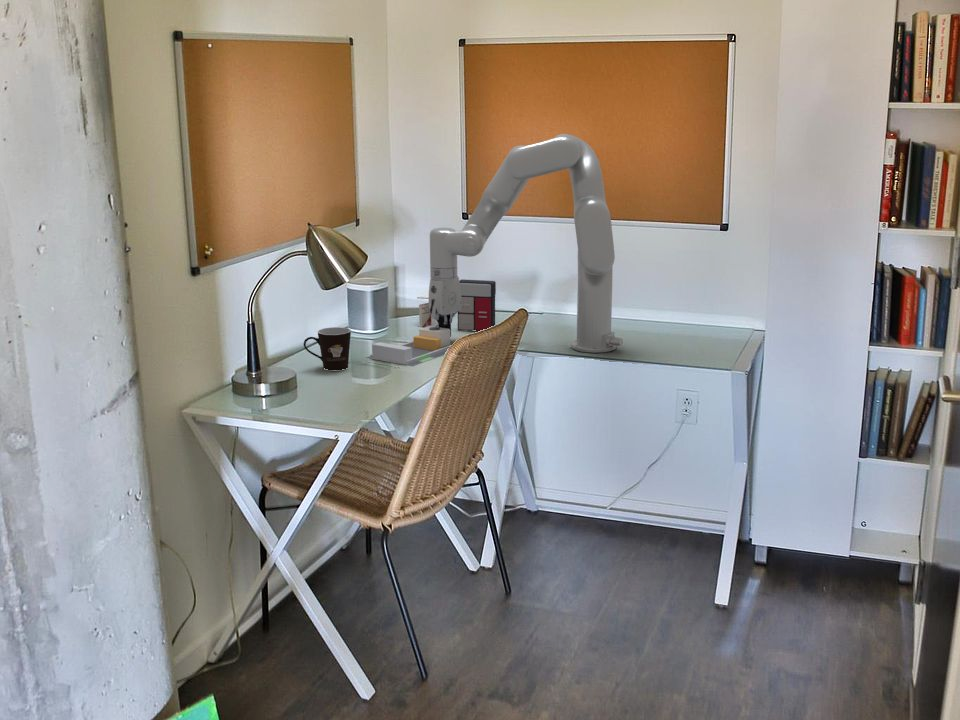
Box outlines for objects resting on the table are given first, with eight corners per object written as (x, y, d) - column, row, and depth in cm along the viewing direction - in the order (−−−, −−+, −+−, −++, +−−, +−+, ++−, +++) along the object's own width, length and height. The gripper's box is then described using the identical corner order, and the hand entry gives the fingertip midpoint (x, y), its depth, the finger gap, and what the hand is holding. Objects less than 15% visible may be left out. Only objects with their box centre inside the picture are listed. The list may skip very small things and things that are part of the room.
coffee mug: (356, 364, 285) (355, 327, 282) (346, 373, 277) (344, 335, 274) (315, 362, 287) (313, 326, 285) (303, 371, 279) (301, 333, 277)
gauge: (430, 341, 303) (429, 324, 302) (450, 344, 299) (450, 327, 298) (419, 345, 299) (419, 328, 298) (439, 348, 295) (439, 331, 294)
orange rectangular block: (418, 345, 299) (417, 335, 299) (441, 349, 295) (441, 339, 294) (413, 347, 298) (413, 336, 297) (436, 351, 293) (436, 340, 293)
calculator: (456, 331, 322) (456, 281, 318) (461, 327, 326) (460, 279, 322) (491, 333, 319) (491, 283, 315) (495, 330, 323) (495, 280, 319)
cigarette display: (438, 314, 345) (437, 285, 343) (454, 315, 343) (454, 286, 341) (416, 328, 327) (415, 297, 324) (433, 329, 325) (432, 298, 323)
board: (421, 343, 307) (421, 325, 306) (467, 350, 299) (467, 332, 297) (365, 362, 287) (364, 343, 286) (412, 370, 279) (412, 351, 277)
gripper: (438, 278, 290) (439, 344, 295) (470, 270, 302) (471, 333, 306) (416, 275, 294) (418, 340, 299) (448, 267, 306) (449, 330, 311)
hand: (444, 337), depth 303 cm, fingers closed
